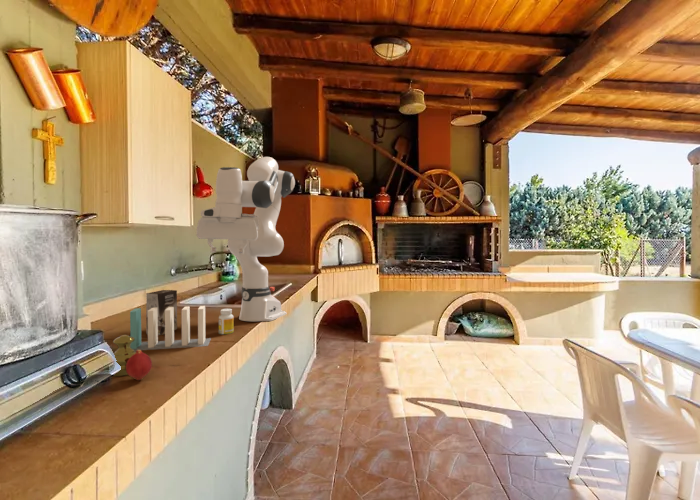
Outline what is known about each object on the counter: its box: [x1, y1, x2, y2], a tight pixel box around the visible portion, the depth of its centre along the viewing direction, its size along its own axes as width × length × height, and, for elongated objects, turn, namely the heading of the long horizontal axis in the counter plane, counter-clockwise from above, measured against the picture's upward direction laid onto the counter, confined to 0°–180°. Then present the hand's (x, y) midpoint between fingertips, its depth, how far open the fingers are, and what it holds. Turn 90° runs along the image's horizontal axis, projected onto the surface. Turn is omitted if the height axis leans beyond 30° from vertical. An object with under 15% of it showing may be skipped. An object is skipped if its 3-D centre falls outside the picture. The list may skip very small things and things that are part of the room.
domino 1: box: [129, 307, 142, 349], centre depth 115 cm, size 2×5×12 cm, turn 15°
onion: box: [126, 350, 153, 381], centre depth 92 cm, size 6×6×8 cm
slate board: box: [130, 337, 212, 351], centre depth 118 cm, size 25×9×1 cm, turn 105°
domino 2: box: [147, 308, 159, 348], centre depth 117 cm, size 2×5×12 cm, turn 14°
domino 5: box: [197, 305, 206, 345], centre depth 121 cm, size 2×5×12 cm, turn 15°
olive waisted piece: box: [112, 334, 136, 377], centre depth 97 cm, size 7×7×10 cm
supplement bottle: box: [218, 308, 235, 335], centre depth 133 cm, size 5×5×10 cm
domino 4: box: [181, 305, 191, 346], centre depth 119 cm, size 2×5×12 cm, turn 15°
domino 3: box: [164, 307, 175, 347], centre depth 118 cm, size 2×5×12 cm, turn 15°
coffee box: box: [145, 289, 178, 336], centre depth 133 cm, size 9×6×16 cm
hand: (227, 252), depth 124 cm, fingers open, 8 cm apart
